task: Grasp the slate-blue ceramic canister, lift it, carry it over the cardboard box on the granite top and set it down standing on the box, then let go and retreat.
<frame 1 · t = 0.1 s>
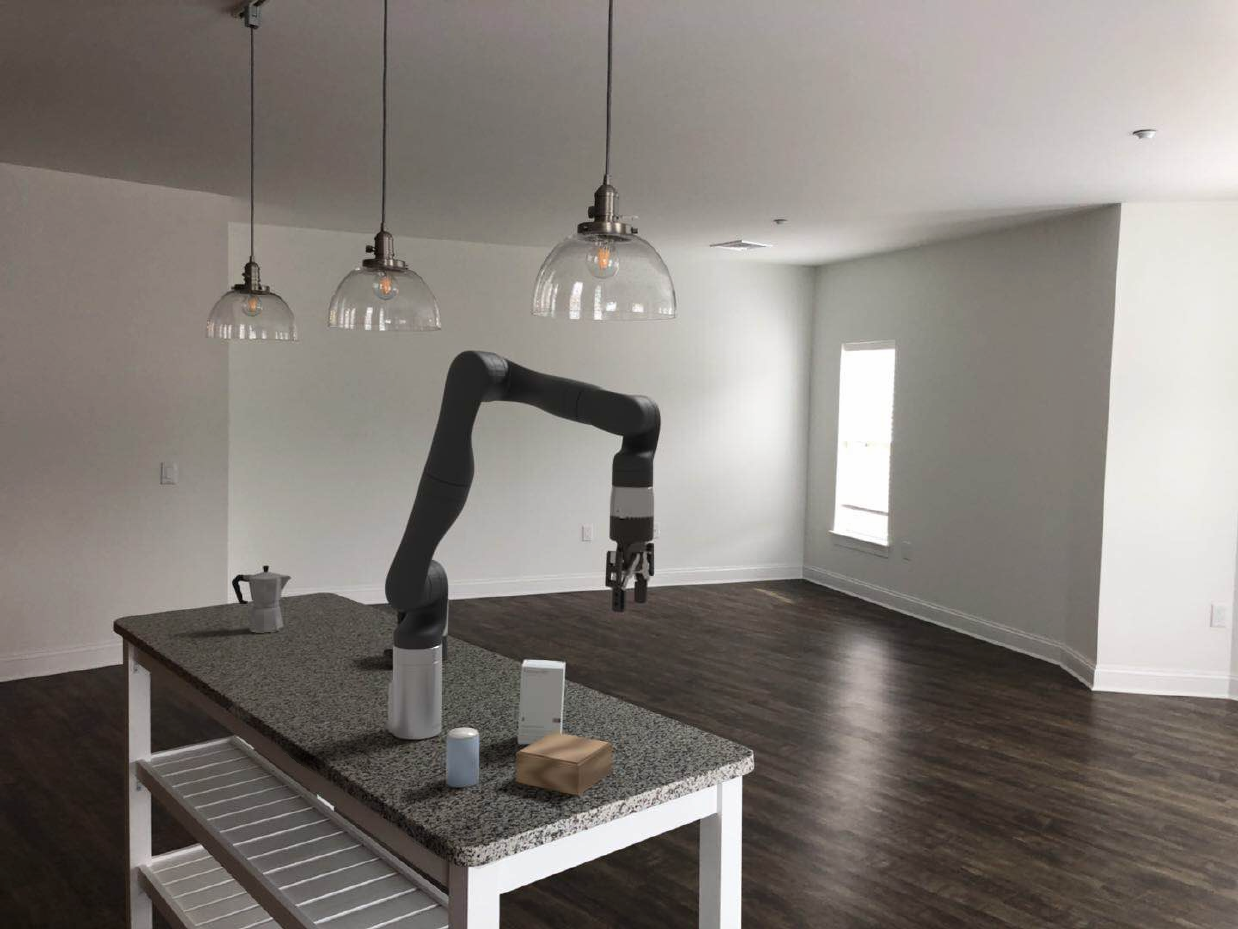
hand: (629, 607, 168), 29 cm above the table, fingers open, 8 cm apart
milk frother: (416, 662, 241), on the table
coffeepot: (261, 631, 271), on the table
skincare box: (541, 741, 186), on the table
canister: (462, 781, 165), on the table
cardboard box: (564, 776, 168), on the table
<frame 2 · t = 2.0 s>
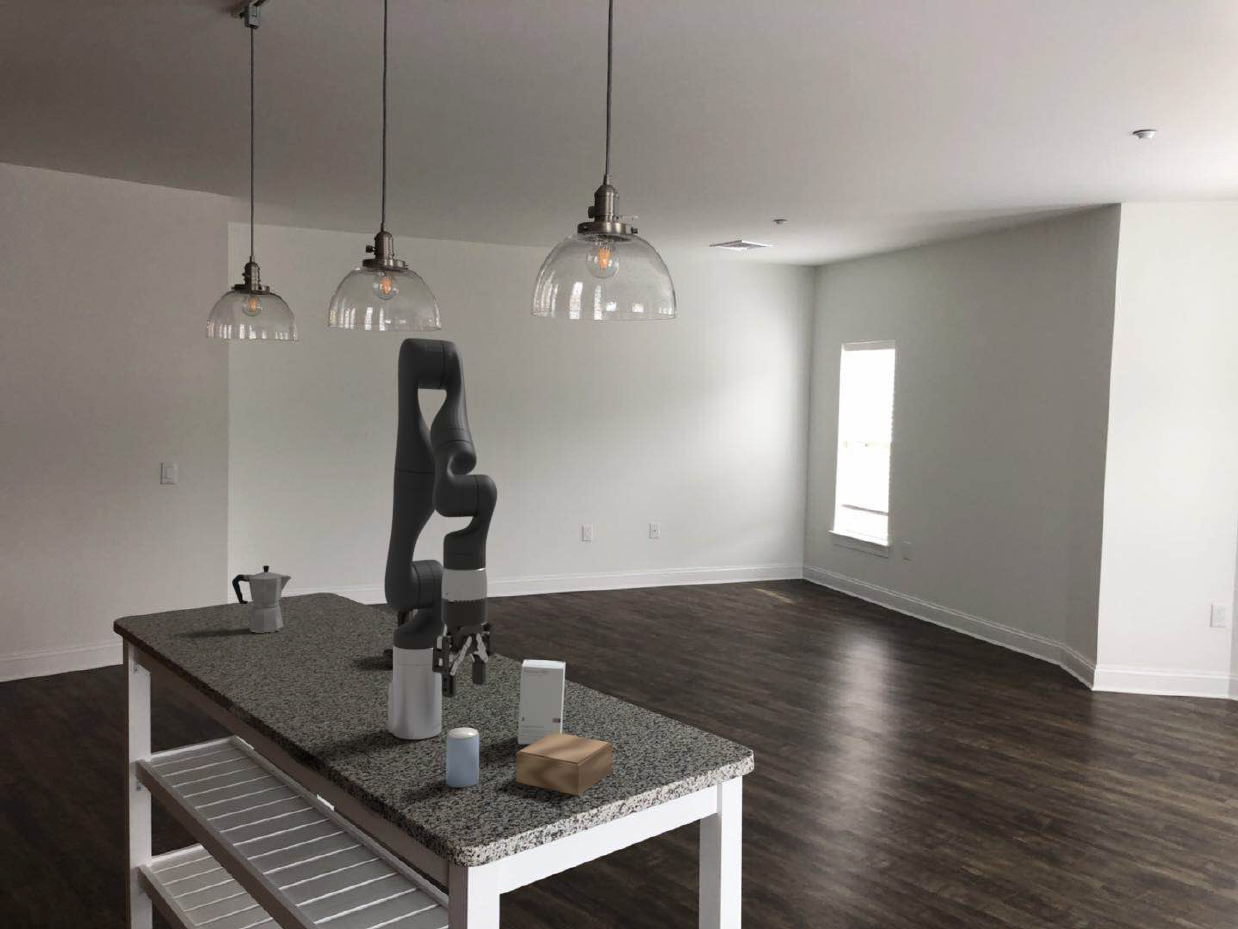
hand: (464, 690, 164), 15 cm above the table, fingers open, 8 cm apart
nothing on the table moved.
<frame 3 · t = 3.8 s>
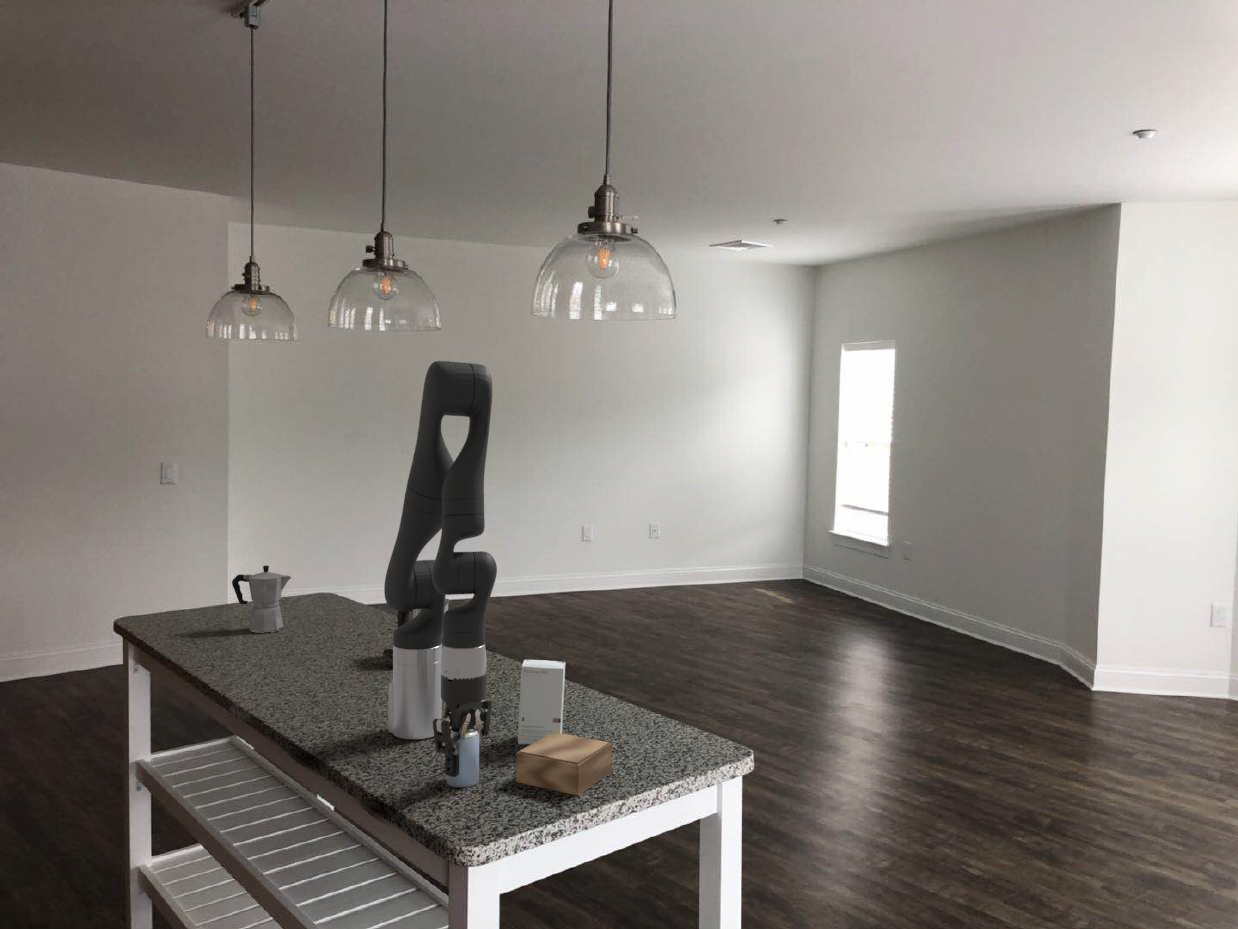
hand: (462, 769, 165), 2 cm above the table, fingers closed on canister, 5 cm apart
canister: (462, 781, 165), on the table, touching gripper
everything else where it was.
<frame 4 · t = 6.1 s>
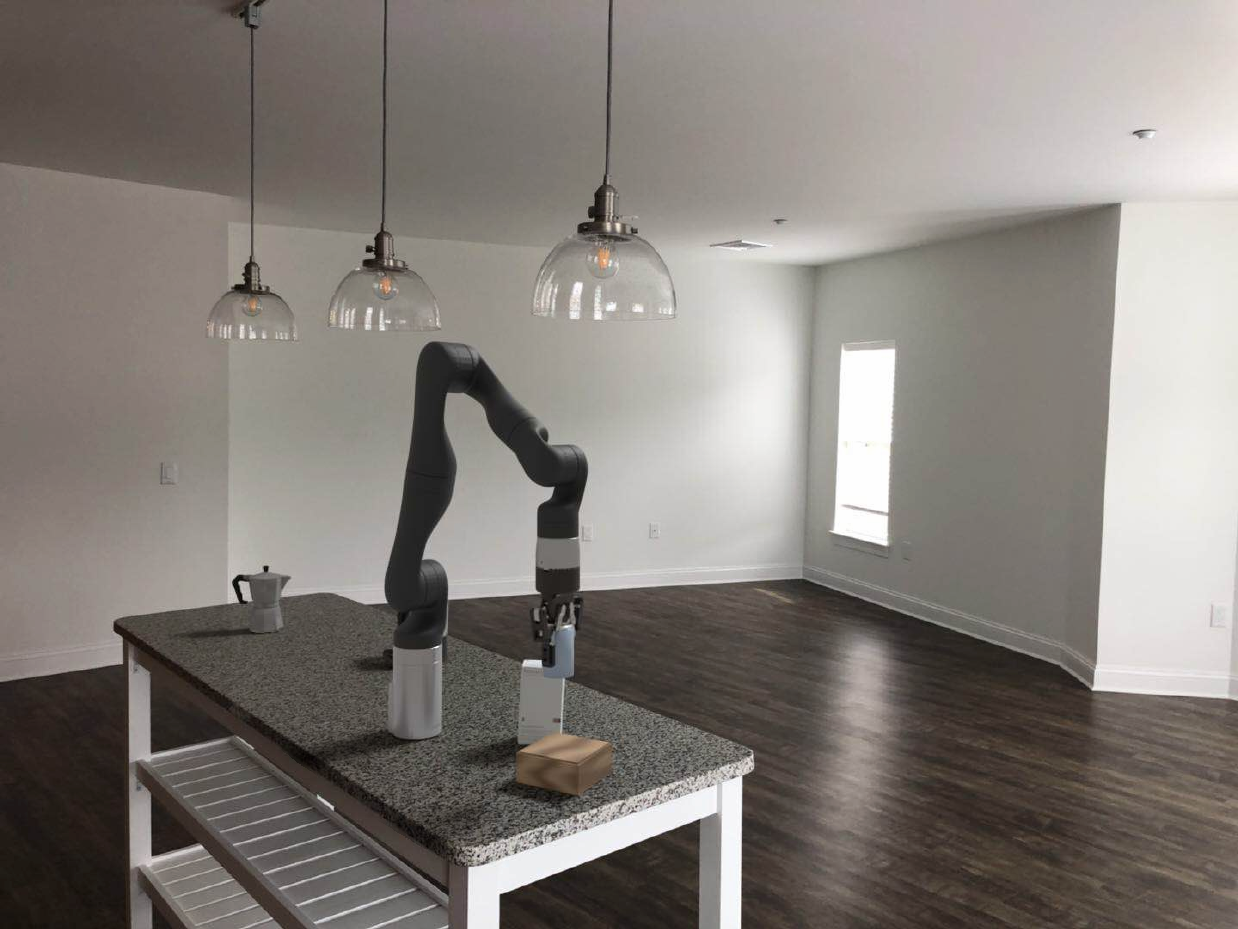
hand: (557, 662, 166), 20 cm above the table, fingers closed on canister, 5 cm apart
canister: (557, 674, 166), point 18 cm above the table, touching gripper
everything else where it was.
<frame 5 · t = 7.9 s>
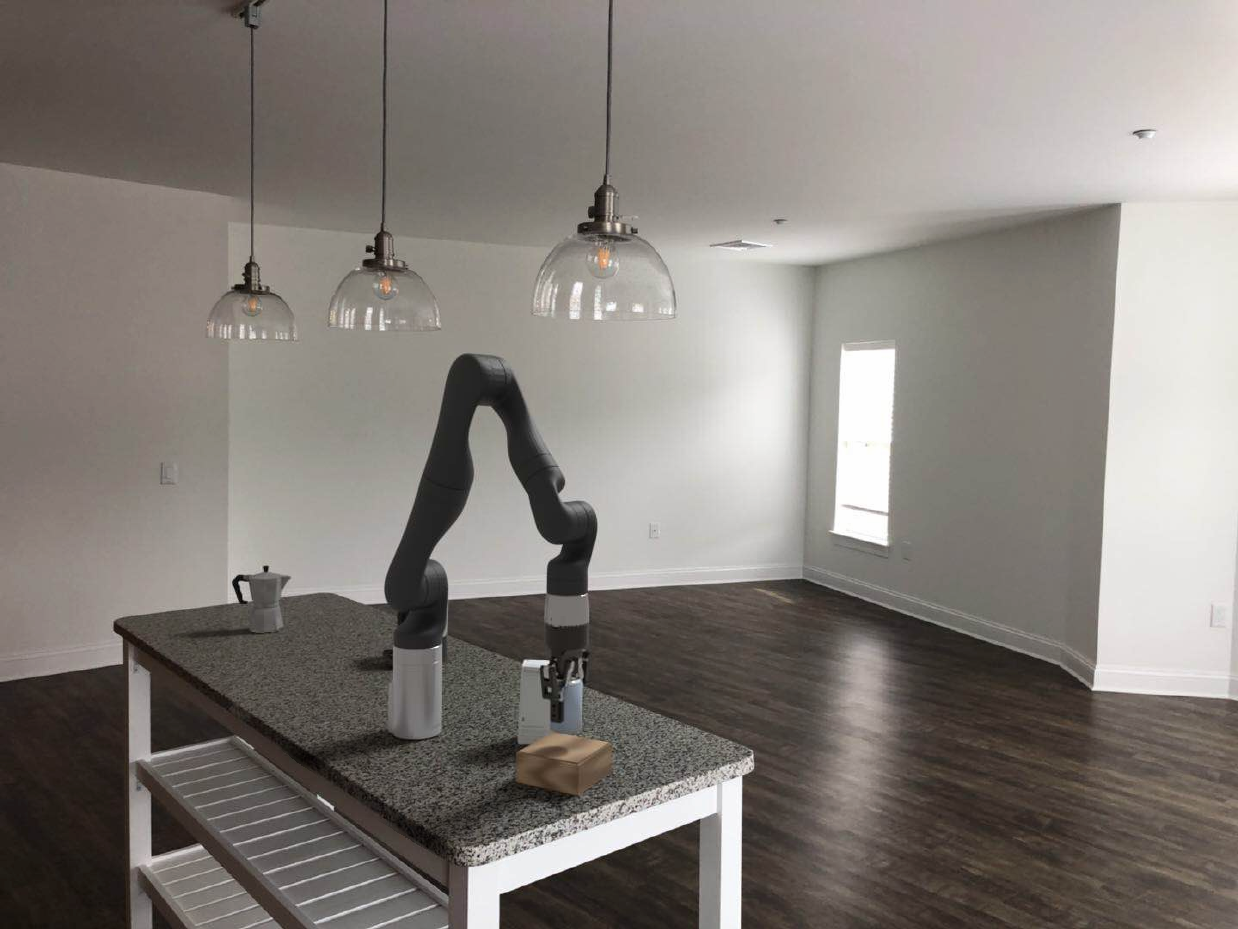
hand: (565, 717, 167), 10 cm above the table, fingers closed on canister, 5 cm apart
canister: (565, 728, 167), point 8 cm above the table, touching gripper
everything else where it was.
when the fingers open (8 cm above the table, at t = 8.9 s): canister stays where it is, resting on cardboard box.
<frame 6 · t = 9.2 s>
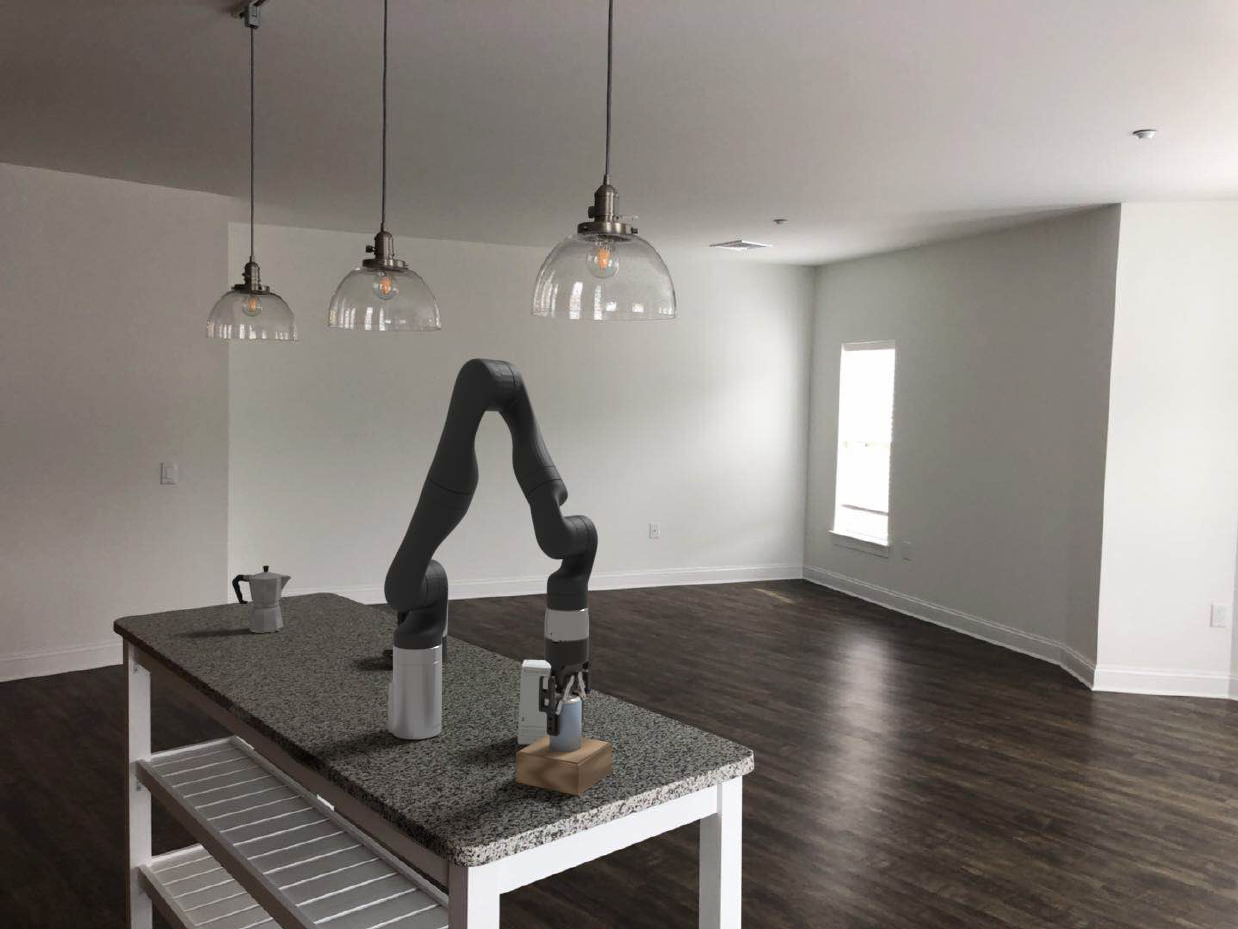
hand: (565, 728, 167), 8 cm above the table, fingers open, 7 cm apart
canister: (565, 746, 168), point 5 cm above the table, touching cardboard box
everything else where it was.
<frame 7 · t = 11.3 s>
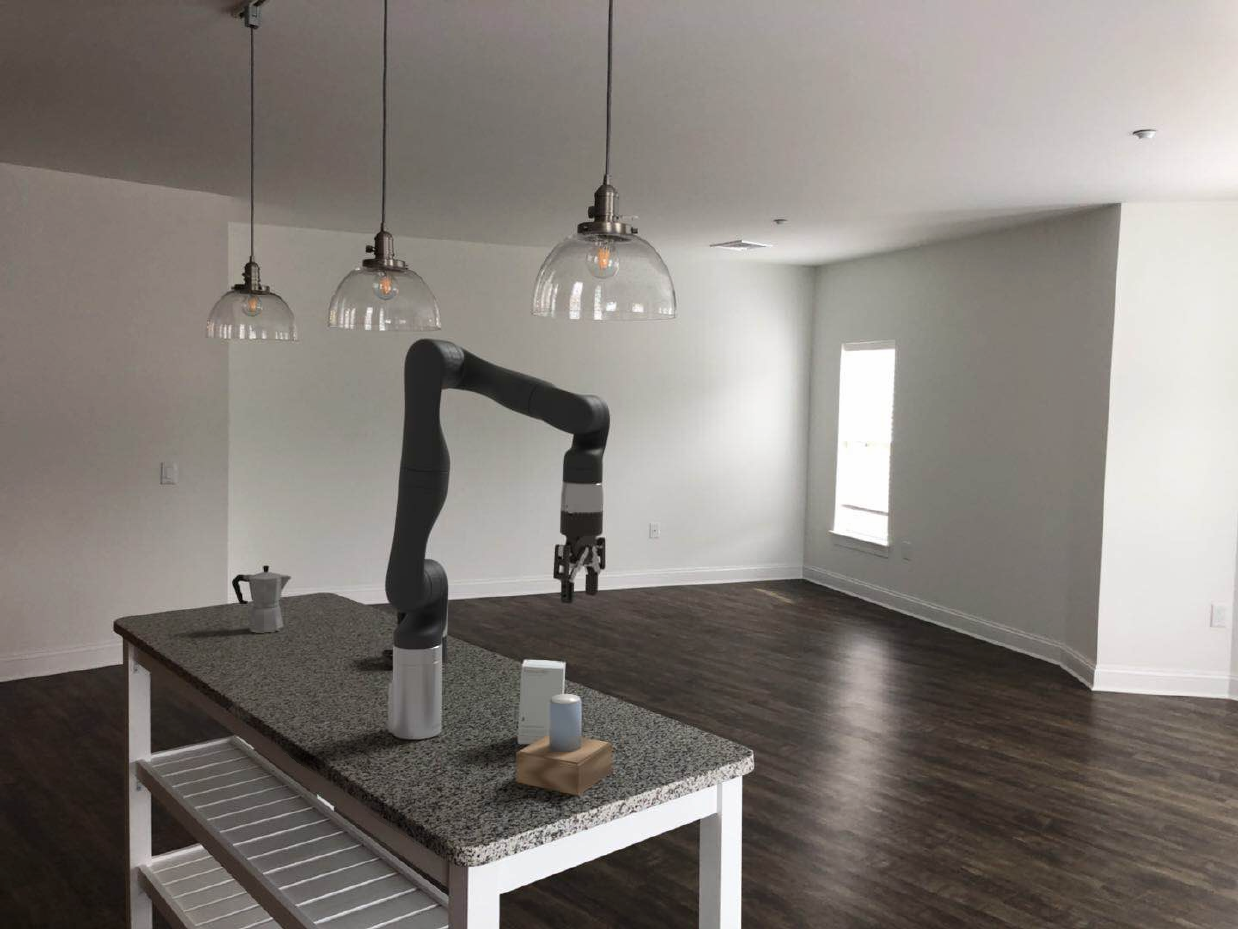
hand: (579, 599, 174), 29 cm above the table, fingers open, 8 cm apart
nothing on the table moved.
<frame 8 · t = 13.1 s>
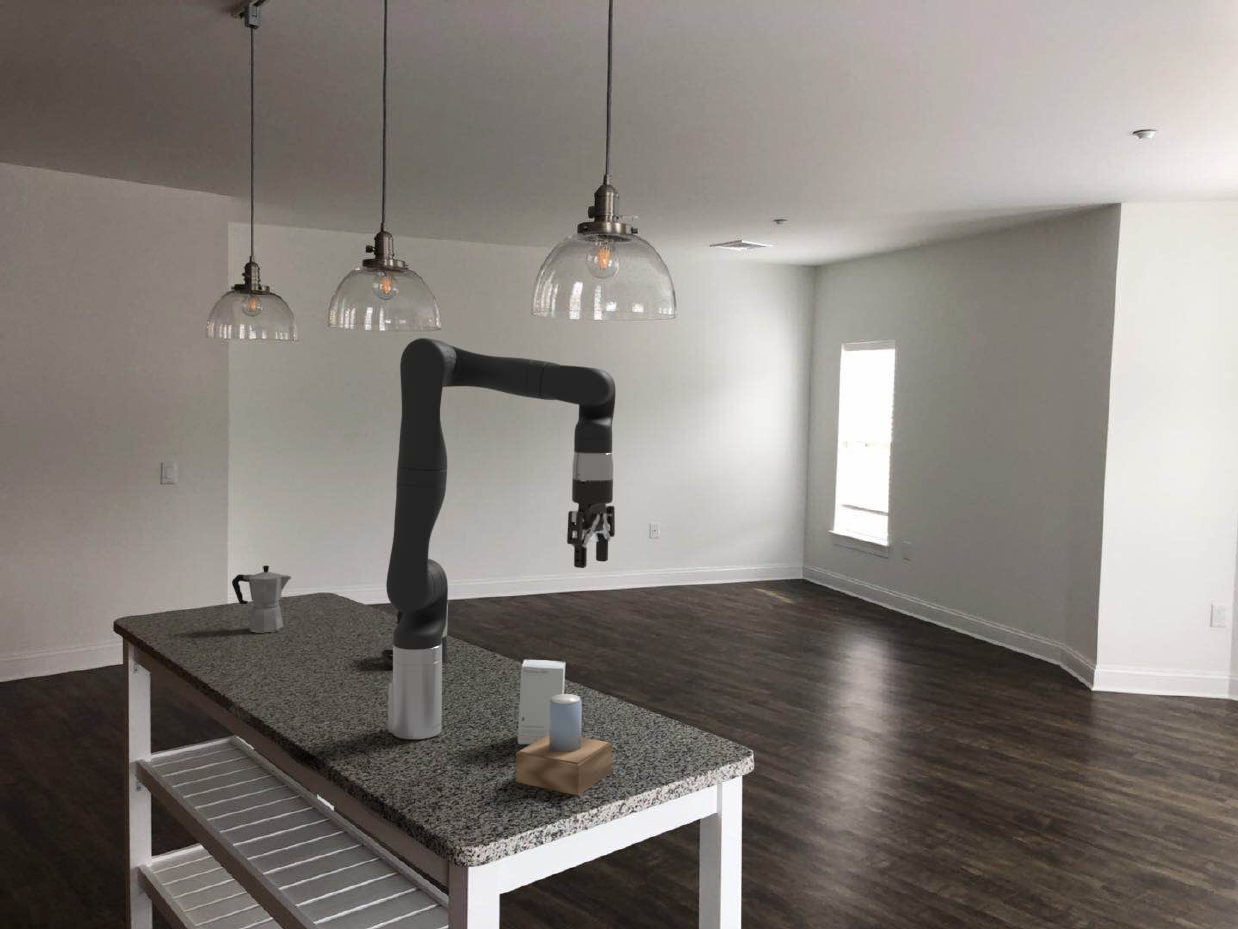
hand: (591, 564, 182), 34 cm above the table, fingers open, 8 cm apart
at the end: canister inside the target area on the cardboard box (0.0 cm from its centre), point 5.3 cm above the cardboard box's base; canister tilted 0°; canister touching cardboard box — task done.
